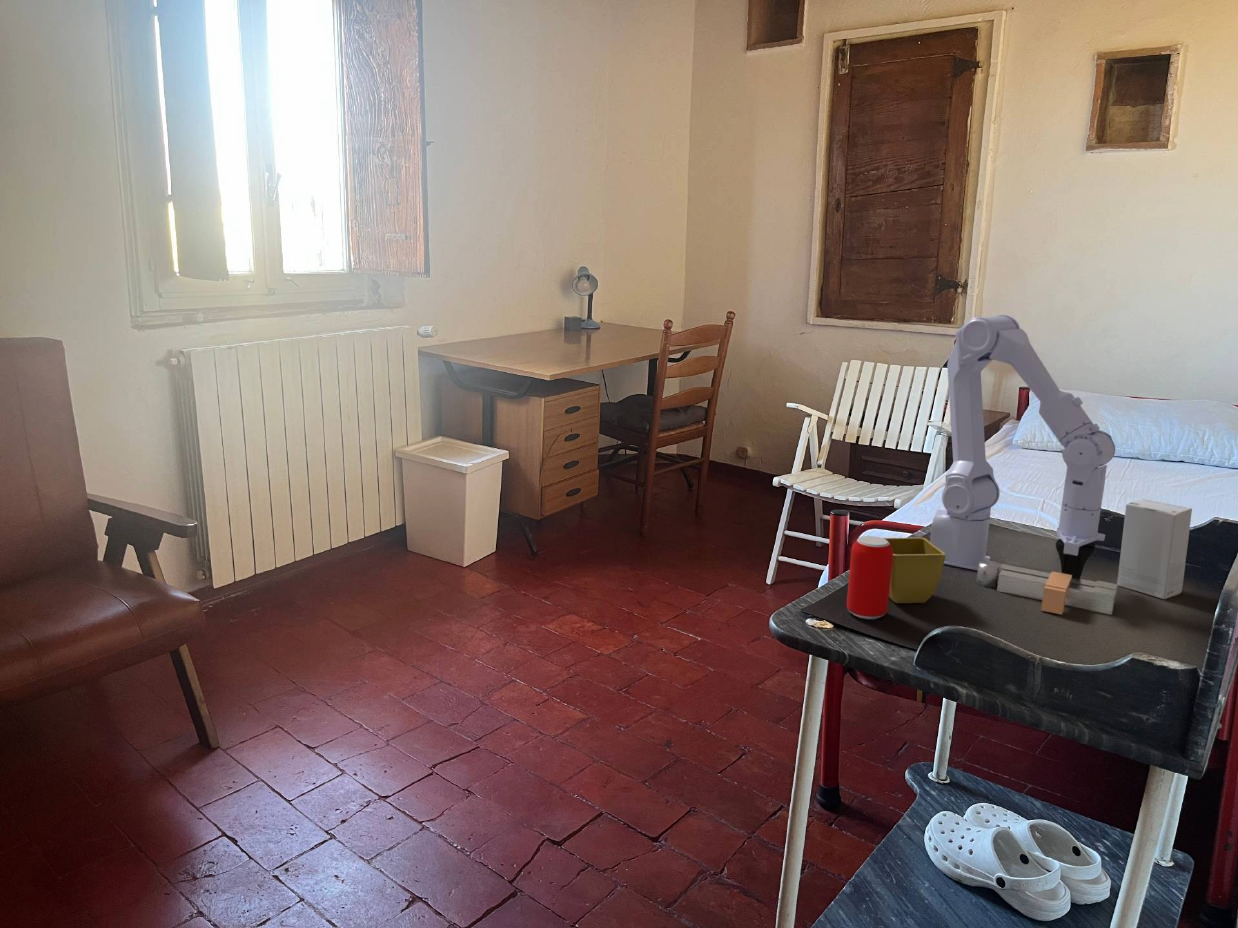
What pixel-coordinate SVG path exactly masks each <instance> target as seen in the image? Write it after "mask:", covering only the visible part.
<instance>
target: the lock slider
mask: <svg viewBox="0 0 1238 928" xmlns="http://www.w3.org/2000/svg"><path fill="white" fill-rule="evenodd" d="M1050 573H1051V574H1050V576H1049V578H1048V580H1047V582H1046V584H1045V587H1044V593H1043V600H1041V609H1040V611H1043V612H1047V613H1053V614H1057V615H1061V616H1063V612H1064V609H1065V606H1066V605H1065V598H1066V591H1067V589H1068V587H1069V584H1070V582H1071V580H1072V575H1069V574H1063V573H1062V572H1058V571H1057V572H1056V571H1051V572H1050Z"/></svg>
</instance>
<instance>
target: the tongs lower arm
mask: <svg viewBox="0 0 1238 928" xmlns="http://www.w3.org/2000/svg"><path fill="white" fill-rule="evenodd" d="M1047 580H1048V579H1046V578H1041V577H1036V576H1031V575H1026V574H1021V573H1015V572H1010V571H1005V570H1001V572H1000V573H999V578H998V586H997V587H996V591H997V592H1001V593H1004V594H1010V595H1014V596H1015V595H1016V596H1020V597H1024V598H1029V599H1032V600H1033V599H1034V600H1038V601H1042V600H1043V593H1044V587H1045V584H1046V582H1047ZM1115 595H1116V596H1117V593H1116V590H1111V589H1106V588H1101V587H1096V586H1095V588H1093V587H1088V586H1082V585H1077V584H1072V583H1070V584H1069V587H1068V589H1067V591H1066V598H1065V605H1064V606H1069V607H1072V608H1078V609H1083V610H1088V611H1090V612H1095V613H1100V614H1105V615H1109V616H1112V614H1113V611H1114V608H1113V607H1115V605H1114V601H1115V602H1116V600H1115Z"/></svg>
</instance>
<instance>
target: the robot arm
mask: <svg viewBox="0 0 1238 928" xmlns="http://www.w3.org/2000/svg"><path fill="white" fill-rule="evenodd" d="M955 339H956V341H955V343H954V345H953V348H952V350H951V353H950V355H949V357H948V361H947V367H946V368H947V369H946V370H947V380H948V381H947V382H948V383H947V385H948V399H949V413H950V430H951V431H950V434H951V444H952V447H951V448H952V460H953V462H952V464H951V466H950V467H949V469H948V470H947V472H946V474H945V484H944V488H943V490H942V494H941V503H942V505H943V507H944V509H937V510H936V511H935V512H934V515H933V518H932V522H931V527H930V528H931V531H930V539H929V542H930V543H932V544H933V545H934V546H935V547H937V548H938V549H940V550H941V551H943V552H944V553H945V554H946V557H945V561H944V565H947V566H952V567H957V568H964V569H968V570H973V571H978V564H979V561H982V560H989V561H991V556H987V555H986V553H987V544H988V537H989V528H990V527H989V526H990V522H991V521H990V519H991V509H992V507H994V506H995V505H996V504H997V502H998V501H999V499H1000V492H1001V491H1000V488H999V485H998V483H997V481H996V479H995V475H994V469H993V466H991V464H990V463H989V462H988V461H987V459H986V458H987V457H986V443H985V440H986V439H985V425H984V409H983V404H984V403H983V389H982V371H983V370H984V369H985V368H986V367H988V365H989V364H991V362H993V361H997V362H1000V363H1003V364H1008V365H1010V366H1011V367H1012V369H1014V370H1015V372H1016V374H1018V376H1019V377H1020V378H1021V379H1022V381H1023V382H1024V383H1025V384H1026V385H1027V387H1028V388H1029V390H1030V391H1031V392H1032V393H1033V394H1034V396H1035V397H1036V398H1037V399H1038V400H1039V404H1040V405H1039V409H1038V413H1039V415H1040V417H1041V418H1042V420H1043V421H1044V423H1045V424H1046V425H1047V426H1048V428H1049V429H1050V431H1051V432H1052V434H1053V435H1054V437H1055V438H1056V440H1057V441H1058V442H1059V443H1060V445H1061V446H1063V448H1064V449H1062V450H1061V456H1062V459H1063V461H1064V463H1065V464H1066V466H1067V467H1066V473H1065V479H1064V485H1063V493H1062V500H1061V501H1062V502H1061V507H1060V515H1059V521H1058V527H1057V529H1056V535H1057V536H1058V537H1059V539H1057V540H1056V542H1055V548H1056V551H1057V554H1058V557H1059V560H1060V570H1061V573H1063V574H1069V575H1072V577H1073V578H1079V579H1081V577H1082V574H1083V571H1084V567H1085V565H1086V563H1087V561H1088V560H1089V558H1090V557H1091V555H1092V554H1093V553H1094V551H1095V549H1096V544H1097V543H1096V542H1097V541H1099V542H1104V541H1105V539H1106V534H1104V533H1100V532H1098V530H1099V523H1100V518H1101V511H1102V505H1103V504H1102V503H1103V498H1104V497H1103V496H1104V491H1105V483H1106V474H1107V469H1108V465H1107V464H1108V463H1110V461H1112V460H1113V458H1114V456H1115V454H1116V444H1115V443H1114V440H1113V438H1112V435H1110V434H1109V433H1108V432H1107V431H1104V430H1100V427H1099V425H1098V424H1097V423H1093V421H1092V419H1091V418H1090V417H1089V415H1088V414H1087V413H1086V411H1085V410H1084V409H1083V407H1082V405H1083V403H1084V402H1083V401H1082V399H1081V398H1080V397H1079V396H1076V397H1075V396H1074V394H1073V393H1070V392H1065V391H1062V390H1060V388H1059V387H1058V385H1057V383H1056V382H1055V381H1054V379H1053V378H1052V376H1051V374H1050V373H1049V371H1048V369H1047V368H1046V366H1045V365H1044V364H1043V362H1042V359H1040V357H1039V355H1038V354H1037V353H1036V350H1035V349H1034V347H1033V346H1032V344H1031V341H1030V338H1029V336H1028V334H1027V332H1026V331H1025V330H1024V329H1023V328H1021V327H1020V325H1019V321H1017V319H1015V317H1012V316H1010V315H1007V314H1006V315H1005V314H1001V315H997V316H987V317H986V316H985V317H983V316H975V317H972V318H970V319H968V320H967V321H966V322H964V324H963V325H962V326H961V327H959V329H957V331H956V333H955Z"/></svg>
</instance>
